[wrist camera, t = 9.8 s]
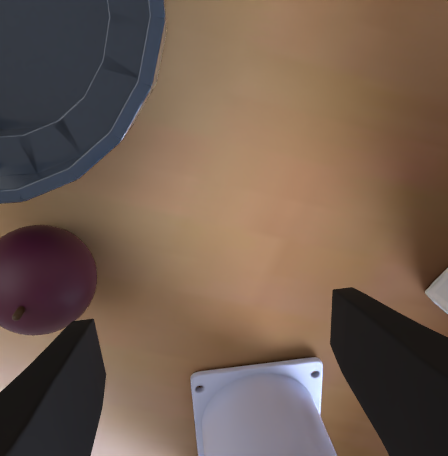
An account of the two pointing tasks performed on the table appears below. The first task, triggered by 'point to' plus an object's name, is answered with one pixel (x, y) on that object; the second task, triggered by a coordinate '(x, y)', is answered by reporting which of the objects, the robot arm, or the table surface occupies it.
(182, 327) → the table surface
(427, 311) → the table surface
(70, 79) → the bowl
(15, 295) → the plum
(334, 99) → the table surface
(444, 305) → the syrup box
